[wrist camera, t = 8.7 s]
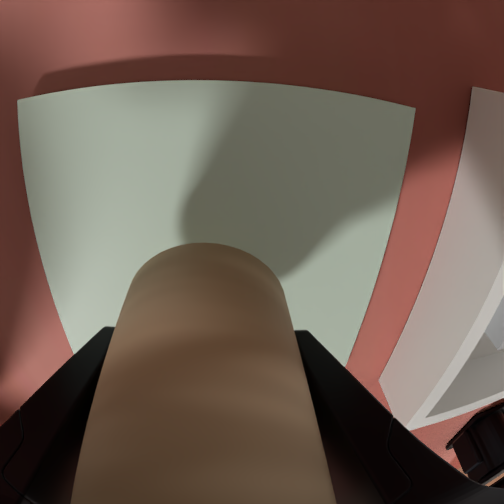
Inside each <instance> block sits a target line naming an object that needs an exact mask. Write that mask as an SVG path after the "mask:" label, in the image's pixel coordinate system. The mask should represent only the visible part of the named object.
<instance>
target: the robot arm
mask: <svg viewBox="0 0 504 504" xmlns="http://www.w3.org/2000/svg"><path fill="white" fill-rule="evenodd" d="M114 329H115V327H113V326H105V327H103V328H102V329H101V330H100V331H99V332H98V333H96V334H95V335H94V336H93V337H92V338H91V339H90V340H89V341H88V342H87V343H86V344H85V345H84V346H83V347H82V348H80V349H79V350H78V351H77V352H76V353H75V354H74V355H73V356H72V357H71V358H70V359H69V360H68V361H67V362H66V363H65V364H64V365H63V366H62V367H61V368H60V369H58V370H57V371H56V372H55V373H54V374H53V375H52V376H51V377H50V378H49V379H48V380H47V381H46V382H45V383H44V384H43V385H42V386H41V387H40V388H39V389H38V390H37V391H36V392H35V393H34V394H33V395H32V396H31V397H30V398H29V399H28V400H27V401H26V402H25V403H24V404H23V405H22V406H21V407H20V410H17V411H16V412H15V413H14V414H13V415H12V416H11V417H10V418H9V419H8V420H7V421H6V422H5V423H4V424H3V425H2V426H1V427H0V504H70V503H71V497H72V491H73V486H74V480H75V475H76V470H77V465H78V460H79V456H80V451H81V446H82V442H83V438H84V433H85V429H86V425H87V421H88V417H89V413H90V409H91V406H92V402H93V398H94V395H95V391H96V387H97V384H98V380H99V377H100V374H101V370H102V367H103V364H104V360H105V357H106V354H107V351H108V348H109V344H110V341H111V338H112V335H113V332H114ZM294 332H295V336H296V340H297V344H298V347H299V351H300V355H301V359H302V363H303V367H304V371H305V375H306V379H307V383H308V387H309V391H310V395H311V399H312V403H313V407H314V411H315V415H316V419H317V423H318V427H319V431H320V435H321V439H322V444H323V448H324V452H325V456H326V460H327V464H328V469H329V473H330V477H331V482H332V486H333V490H334V495H335V499H336V503H337V504H504V477H502V478H501V479H499V480H498V481H497V482H495V483H494V484H492V485H491V486H489V487H488V486H485V485H486V484H487V483H489V482H490V481H492V480H493V479H495V478H496V477H498V476H499V475H501V474H502V473H504V404H502V405H499V406H497V407H495V408H493V409H490V410H488V411H485V412H483V413H481V414H478V415H476V416H475V417H474V418H473V419H472V420H471V421H470V422H469V423H468V424H467V425H466V426H465V427H464V428H463V429H462V430H461V431H460V433H459V434H458V435H457V436H456V437H455V438H454V439H453V440H452V441H451V442H450V443H449V444H448V445H447V446H446V447H445V448H446V450H449V449H452V448H454V451H455V453H456V455H457V458H458V460H459V462H460V464H461V467H462V469H463V471H464V473H465V474H468V477H469V478H468V477H466V476H465V475H464V474H462V473H461V472H460V471H458V470H457V469H456V468H454V467H453V466H452V465H450V464H449V463H448V462H446V461H445V460H444V459H442V458H441V457H440V456H438V455H437V454H436V453H434V452H433V451H432V450H431V449H429V448H428V447H427V446H426V445H425V444H423V443H422V442H421V441H420V440H418V439H417V438H416V437H415V436H414V435H413V434H412V433H411V432H410V431H409V430H408V429H407V428H406V427H404V426H403V425H402V424H401V423H400V422H399V421H398V420H397V419H396V418H393V415H392V414H391V413H390V412H389V411H388V410H387V409H386V408H385V407H384V406H383V405H382V404H381V403H380V402H379V401H378V400H377V399H376V398H375V397H374V396H373V395H372V394H371V393H370V392H369V391H368V390H367V389H366V388H365V387H364V386H363V385H362V384H361V383H360V382H359V381H358V380H357V379H356V378H355V377H354V376H353V375H352V374H351V373H350V372H349V371H348V370H347V369H346V368H345V367H344V366H343V365H342V364H341V363H340V362H339V361H338V360H337V359H336V358H335V357H334V356H333V355H332V354H331V353H330V352H329V351H328V350H327V349H326V348H325V347H324V346H323V345H322V344H321V343H320V342H319V341H318V340H317V339H316V338H315V337H314V336H313V335H312V334H311V333H310V332H309V331H308V330H294Z"/></svg>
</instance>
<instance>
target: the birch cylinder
mask: <svg viewBox="0 0 504 504" xmlns="http://www.w3.org/2000/svg"><path fill="white" fill-rule="evenodd" d="M70 504H337V503H336V499H335V495H334V490H333V486H332V482H331V477H330V473H329V469H328V464H327V460H326V456H325V452H324V448H323V444H322V439H321V435H320V431H319V427H318V423H317V419H316V415H315V411H314V407H313V403H312V399H311V395H310V391H309V387H308V383H307V379H306V375H305V371H304V367H303V363H302V359H301V355H300V351H299V347H298V344H297V340H296V336H295V332H294V328H293V324H292V321H291V317H290V313H289V309H288V305H287V302H286V298H285V294H284V290H283V288H282V286H281V283H280V281H279V280H278V278H277V277H276V275H275V274H274V273H273V272H272V271H271V269H270V268H269V267H268V266H267V265H265V264H264V263H263V262H262V261H261V260H259V259H258V258H256V257H254V256H253V255H251V254H249V253H247V252H245V251H243V250H240V249H237V248H234V247H231V246H228V245H222V244H217V243H190V244H184V245H179V246H176V247H172V248H169V249H167V250H165V251H162V252H160V253H159V254H157V255H155V256H154V257H152V258H151V259H149V260H148V261H147V262H146V263H145V264H143V266H142V267H141V268H140V269H139V270H138V271H137V273H136V275H135V276H134V278H133V280H132V282H131V284H130V287H129V290H128V292H127V295H126V298H125V301H124V303H123V306H122V309H121V312H120V315H119V318H118V320H117V323H116V326H115V329H114V332H113V335H112V338H111V341H110V344H109V348H108V351H107V354H106V357H105V360H104V364H103V367H102V370H101V374H100V377H99V380H98V384H97V387H96V391H95V395H94V398H93V402H92V406H91V409H90V413H89V417H88V421H87V425H86V429H85V433H84V438H83V442H82V446H81V451H80V456H79V460H78V465H77V470H76V475H75V480H74V486H73V491H72V497H71V503H70Z"/></svg>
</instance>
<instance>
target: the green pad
mask: <svg viewBox="0 0 504 504" xmlns="http://www.w3.org/2000/svg"><path fill="white" fill-rule="evenodd" d="M17 106H18V125H19V137H20V148H21V157H22V165H23V172H24V179H25V186H26V192H27V197H28V203H29V208H30V213H31V218H32V223H33V227H34V232H35V236H36V240H37V244H38V248H39V252H40V256H41V260H42V264H43V267H44V271H45V274H46V277H47V281H48V284H49V287H50V291H51V294H52V297H53V300H54V303H55V306H56V309H57V311H58V314H59V317H60V320H61V323H62V325H63V328H64V331H65V333H66V336H67V338H68V341H69V343H70V346H71V348H72V351H73V353H74V354H75V353H76V352H77V351H78V350H79V349H80V348H82V347H83V346H84V345H85V344H86V343H87V342H88V341H89V340H90V339H91V338H92V337H93V336H94V335H95V334H96V333H98V332H99V331H100V330H101V329H102V328H103V327H105V326H113V327H115V326H116V323H117V320H118V318H119V315H120V312H121V309H122V306H123V303H124V301H125V298H126V295H127V292H128V290H129V287H130V284H131V282H132V280H133V278H134V276H135V275H136V273H137V271H138V270H139V269H140V268H141V267H142V266H143V264H145V263H146V262H147V261H148V260H149V259H151V258H152V257H154V256H155V255H157V254H159V253H160V252H162V251H165V250H167V249H169V248H172V247H176V246H179V245H184V244H190V243H217V244H222V245H228V246H231V247H234V248H237V249H240V250H243V251H245V252H247V253H249V254H251V255H253V256H254V257H256V258H258V259H259V260H261V261H262V262H263V263H264V264H265V265H267V266H268V267H269V268H270V269H271V271H272V272H273V273H274V274H275V275H276V277H277V278H278V280H279V281H280V283H281V286H282V288H283V290H284V294H285V298H286V302H287V305H288V309H289V313H290V317H291V321H292V324H293V328H294V330H308V331H309V332H310V333H311V334H312V335H313V336H314V337H315V338H316V339H317V340H318V341H319V342H320V343H321V344H322V345H323V346H324V347H325V348H326V349H327V350H328V351H329V352H330V353H331V354H332V355H333V356H334V357H335V358H336V359H337V360H338V361H339V362H340V363H341V364H342V365H343V366H344V367H345V366H346V363H347V361H348V358H349V356H350V353H351V351H352V348H353V345H354V343H355V340H356V338H357V335H358V332H359V329H360V327H361V324H362V321H363V318H364V315H365V313H366V310H367V307H368V304H369V301H370V298H371V295H372V292H373V289H374V286H375V282H376V279H377V276H378V273H379V270H380V266H381V263H382V260H383V256H384V253H385V249H386V246H387V242H388V238H389V235H390V231H391V227H392V223H393V220H394V216H395V212H396V207H397V203H398V199H399V195H400V190H401V186H402V181H403V177H404V172H405V167H406V162H407V157H408V152H409V146H410V141H411V135H412V129H413V123H414V116H415V110H416V108H413V107H409V106H405V105H401V104H397V103H392V102H388V101H384V100H379V99H374V98H370V97H365V96H359V95H354V94H349V93H343V92H337V91H330V90H324V89H317V88H309V87H302V86H293V85H283V84H273V83H260V82H245V81H222V80H171V81H148V82H133V83H121V84H110V85H101V86H93V87H85V88H78V89H72V90H65V91H59V92H54V93H48V94H43V95H38V96H33V97H29V98H24V99H20V100H17Z"/></svg>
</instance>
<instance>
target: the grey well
mask: <svg viewBox="0 0 504 504" xmlns="http://www.w3.org/2000/svg"><path fill="white" fill-rule="evenodd" d="M379 383H380V385H381V387H382V390H383V392H384V395H385V397H386V399H387V402H388V404H389V407H390V409H391V411H392V414H393V416H394V418H396V419H397V420H398V421H399V422H400V423H401V424H402V425H403V426H404V427H406V428H407V429H408V430H413V429H417V428H420V427H424V426H427V425H430V424H434V423H437V422H440V421H443V420H446V419H449V418H452V417H455V416H458V415H461V414H464V413H467V412H469V411H472V410H475V409H477V408H480V407H482V406H485V405H487V404H490V403H492V402H495V401H497V400H499V399H502V398H504V93H502V92H498V91H493V90H488V89H483V88H478V87H473V86H472V93H471V101H470V108H469V115H468V121H467V127H466V133H465V138H464V143H463V148H462V153H461V158H460V163H459V167H458V171H457V176H456V180H455V184H454V188H453V192H452V195H451V199H450V203H449V206H448V210H447V213H446V217H445V220H444V223H443V227H442V230H441V233H440V236H439V239H438V242H437V245H436V248H435V251H434V254H433V257H432V260H431V263H430V265H429V268H428V271H427V274H426V276H425V279H424V282H423V284H422V287H421V289H420V292H419V294H418V297H417V299H416V302H415V304H414V306H413V309H412V311H411V313H410V316H409V318H408V320H407V323H406V325H405V327H404V329H403V331H402V334H401V336H400V338H399V340H398V342H397V344H396V346H395V348H394V351H393V353H392V355H391V357H390V359H389V361H388V363H387V365H386V367H385V369H384V370H383V372H382V374H381V376H380V378H379Z"/></svg>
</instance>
